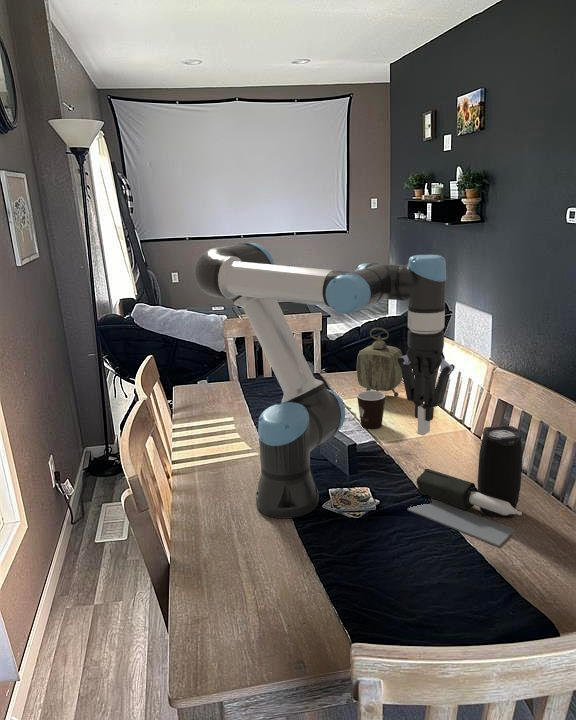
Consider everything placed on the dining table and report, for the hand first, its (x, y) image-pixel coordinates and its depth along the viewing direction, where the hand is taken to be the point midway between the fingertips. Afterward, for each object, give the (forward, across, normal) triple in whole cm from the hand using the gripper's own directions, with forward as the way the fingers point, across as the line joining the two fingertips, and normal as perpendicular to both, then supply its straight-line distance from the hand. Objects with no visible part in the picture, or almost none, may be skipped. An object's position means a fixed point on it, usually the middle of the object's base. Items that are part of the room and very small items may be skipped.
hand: (423, 432), depth 131 cm
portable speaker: (+19, -14, -10) cm, 25 cm away
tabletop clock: (+19, +51, -54) cm, 77 cm away
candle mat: (+19, -9, -1) cm, 21 cm away
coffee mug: (+19, +39, -33) cm, 55 cm away
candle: (+16, +4, -7) cm, 18 cm away
